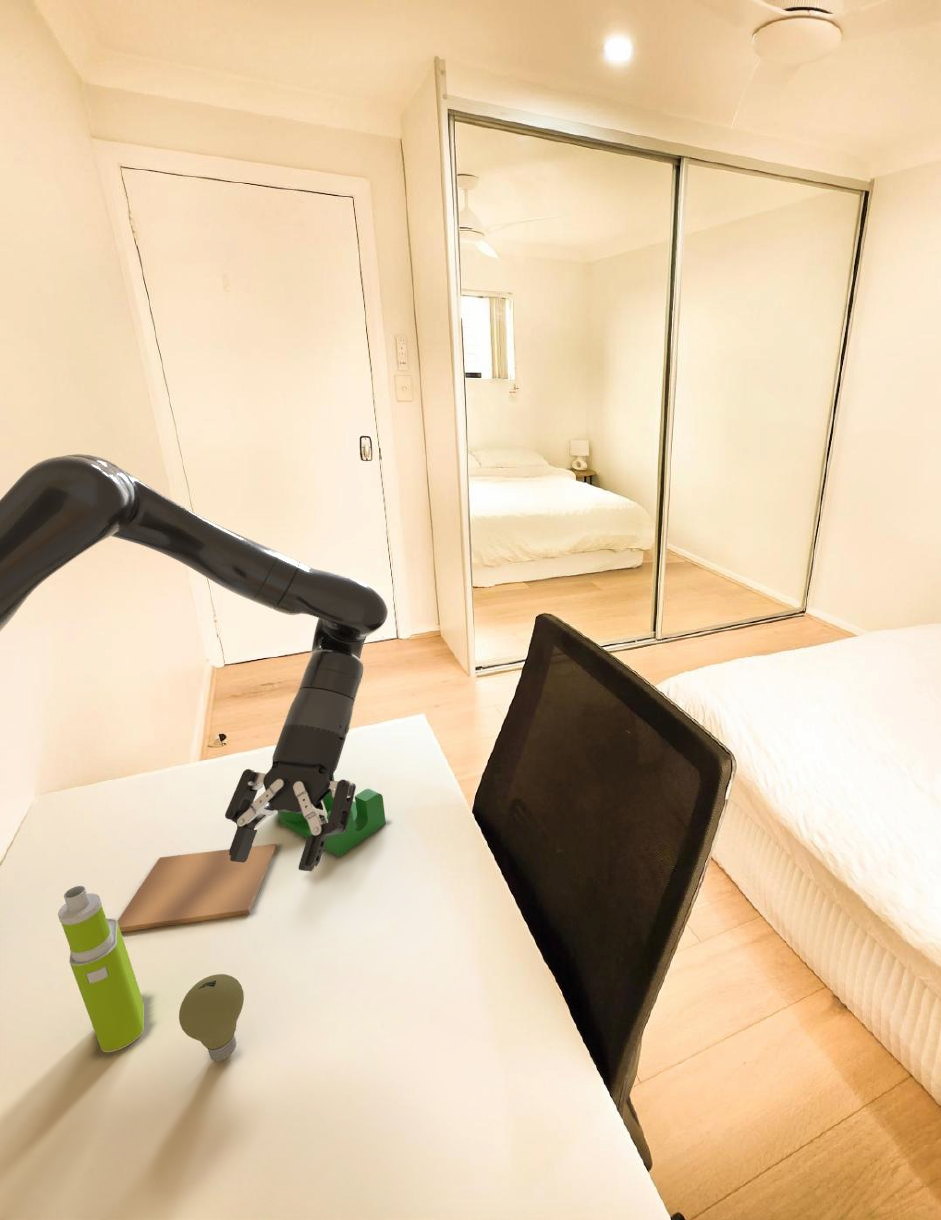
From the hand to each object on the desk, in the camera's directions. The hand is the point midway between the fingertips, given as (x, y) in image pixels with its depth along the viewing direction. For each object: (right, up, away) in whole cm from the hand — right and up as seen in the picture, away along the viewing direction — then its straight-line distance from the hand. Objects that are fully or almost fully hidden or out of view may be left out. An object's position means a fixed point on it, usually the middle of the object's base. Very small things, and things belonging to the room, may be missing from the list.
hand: (271, 866), depth 70 cm
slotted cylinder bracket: (-8, -5, +30) cm, 31 cm away
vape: (-15, -17, -3) cm, 22 cm away
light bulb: (-2, -18, -5) cm, 19 cm away
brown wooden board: (-19, -10, +16) cm, 26 cm away
